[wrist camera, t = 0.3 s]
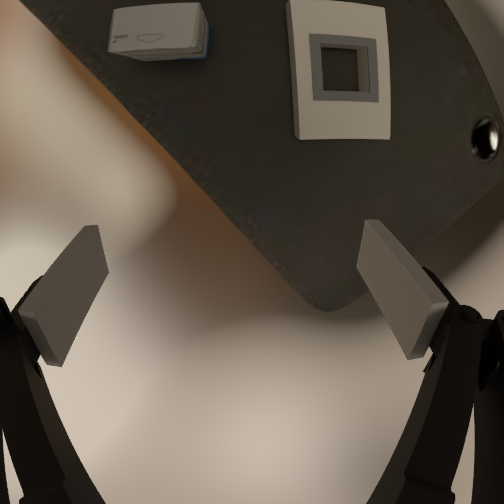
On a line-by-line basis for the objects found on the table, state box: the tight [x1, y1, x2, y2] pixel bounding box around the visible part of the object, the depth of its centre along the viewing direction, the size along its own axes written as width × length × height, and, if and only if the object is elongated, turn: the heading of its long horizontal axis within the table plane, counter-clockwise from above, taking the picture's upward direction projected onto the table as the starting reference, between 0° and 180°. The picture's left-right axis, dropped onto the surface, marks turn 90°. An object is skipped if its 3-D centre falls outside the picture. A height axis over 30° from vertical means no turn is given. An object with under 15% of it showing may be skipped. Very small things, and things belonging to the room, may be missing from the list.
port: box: [285, 0, 390, 140], centre depth 32 cm, size 18×12×4 cm, turn 4°
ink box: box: [108, 2, 209, 61], centre depth 26 cm, size 8×5×12 cm, turn 85°
